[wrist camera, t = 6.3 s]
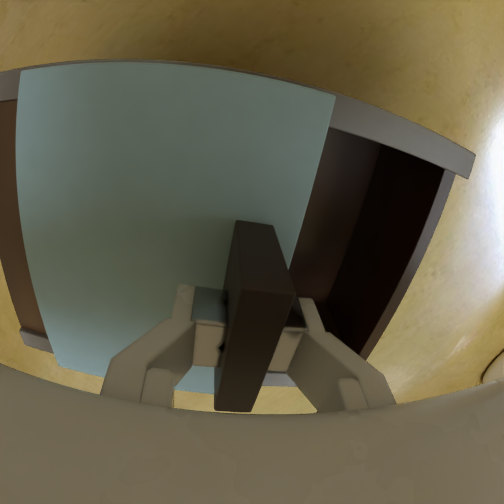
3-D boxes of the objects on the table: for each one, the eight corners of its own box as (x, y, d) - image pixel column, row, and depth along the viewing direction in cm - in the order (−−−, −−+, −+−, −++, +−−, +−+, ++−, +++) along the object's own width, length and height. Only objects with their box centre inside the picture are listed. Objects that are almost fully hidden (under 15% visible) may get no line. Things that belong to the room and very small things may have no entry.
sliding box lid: (61, 359, 13) (37, 419, 9) (28, 70, 6) (-55, 77, 3) (245, 388, 14) (252, 457, 11) (331, 95, 8) (401, 101, 4)
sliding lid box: (71, 270, 19) (24, 345, 13) (70, 73, 13) (-15, 75, 6) (328, 304, 23) (362, 384, 16) (391, 125, 16) (476, 154, 9)
